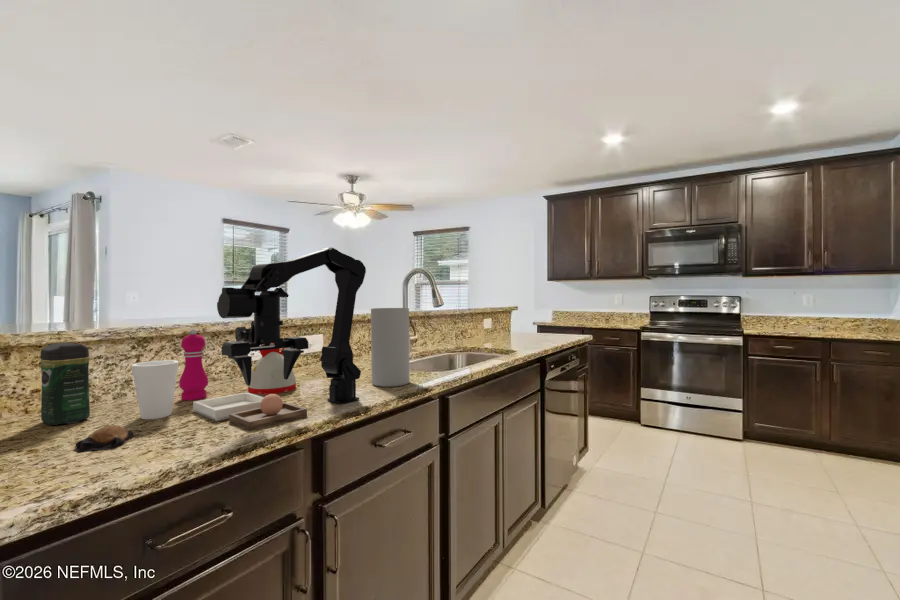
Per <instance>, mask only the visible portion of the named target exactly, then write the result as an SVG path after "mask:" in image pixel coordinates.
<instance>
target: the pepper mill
mask: <svg viewBox="0 0 900 600" xmlns="http://www.w3.org/2000/svg"><path fill="white" fill-rule="evenodd" d="M197 332H198V331H197V329H196V328H195V329H194V328H192V329H190V330H189V334H187V335H186V336H184V337H183V338H182V340H181V344H180V345H181V348H182V349H183V350H184V351H183V357H184V358H185V363H184V364H185V365H184V369H183V371H182V374H181V376H180V379H179V382H178V383H179V385H178V386H179V389H181V390H182V392H181V396H180V397H181V400H182V401H199V400H203V399H205V398H206V397H207V393H208V392H207V390H206V387H207V386H208V385H209V378H208V375H207V373H206V371H205V369H204V366H203V356H204V350H203V349H204V348H205V347H206V339H205V337H203V336H202V335H200V334H197Z"/></svg>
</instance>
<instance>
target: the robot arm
mask: <svg viewBox="0 0 900 600" xmlns="http://www.w3.org/2000/svg"><path fill="white" fill-rule="evenodd" d="M322 266H325V267H327V269H328V271H330V272H331V273H333V274H334V281H335V284H336V287H337V289H338V291H337V292H338V293H337V299H336V305H335V306H336V307H335V313H334V321H333V326H332V332H331V340H330V342H329V344H328V345H327V346H324V345H323V346H322V347H321V355H320V359H319V362H320V365H321V368H322V369H323V371H324V372H325V375H326V378H327V379H330V384H329V387H328V390H329V394H328V396H329V398H327V399H326V401H327V402H331V403H335V404H339V405H341V404H347V403H351V402H355V401H359V400H360V397H357V392H356V391H357V390H356V389H357V385H356V383H357V382H356V380H359V379H360V378H361V373H362V371H361V370H360V369H359V367H358V366H357V365H356V364H355V363H354V352H353V350H352V346H351V344H350V340H351V333H352V326H353V320H354V312H355V304H356V297H357V292H358V291H359V290H360V288H361V286H362V285H363V284H364V280H365V276H366V273H367V271H366V270H367V269H366V266H365V264H364V263H363V262H362V261H361V260H360V259H356V258H354V257H352V256H351V255H347V254H345V253H343V252H341V251H339V250H338V249H337V248H334V247H325V248H324V247H323V248H320V249H319V250H318V251H314V252H311V253H307V254H304V255H301V256H298V257H295V258H291V259H287V260H285V261H279V262H270V263H260V264H257V265H254V266H252V267H251V270H250V272H249V276H248V277H247V279H246V281H244V283H243V284H242V286H241V287H239V288H236V287H233V286H232V287H231V286H230V287H227V286H226V287H222V288H221V293H220V295H219V296H218V301H217V302H216V309H217V312H218V315H219V317H220V318H221V319H239V318H240V319H241V318H250V317H252V316H253V320H251V323H250V328H246V326H238V327H237V326H236V328H235V331H234V332H235V334H234V336H235V341H228V342H227V341H226V342H223V344H222V346H221V355H222V356H227V357H228V359H230V360H233V361H234V362H235V363H236V364H237V366H238V368H239V370H240V372H241V375H242V377H243V380H244V382H245V385H246V386H247V387H248V386H250V383H251V372H252V363H253V358H252V357H253V356H251V355H249V354H250V353H251V352H257V351H258V352H260V350H270V349H280V350H282V348H285V349H284V350H282V353H283V354H282V356H284V372H283V373H284V379H286V380H287V379H288V377H289V375H290V373H291V371H292V370H293V368H294V366H295V364H296V362H297V361H298V359H299V357H300V356H301V354H303V353H305V350H308V349H309V347H310V346H309V344H310V343H309V339H307V337H304V336H287V337H281V326H284V320H281V298H288V297H289V296H290V295H289V294H288V293H287V292H286V291H285V290H284V289H283V288H282V287H280V286H282V285H284V284H286V283H288V282H289V281H290V280H291V279H292V278H293V277H295V276H296V275H299V274H302V273H304V272H307V271H310V270H314V269H316V268H319V267H322ZM272 288H273V289H274V288H275V289H274V290H270V289H272ZM256 293H260V294H256ZM270 343H271V344H270ZM273 343H275V344H273ZM263 344H265V345H263Z"/></svg>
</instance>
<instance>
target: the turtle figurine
mask: <svg viewBox="0 0 900 600" xmlns="http://www.w3.org/2000/svg"><path fill="white" fill-rule="evenodd" d="M134 435H135V432H133V430H128V429H126V428H125V427H122V426H120V425H118V424H117V425H116V424H115V425H114V424H113V425H112V424H111V425H106V426H103V427H100V428H98V429H97V430H94V431H93V432H92V433H91V434H89V435H88V437H86V438H84V439H82V440H79V441H78V442H75V446H74V447H75V448H76V453H78V454H79V453H80V454H81V453H90V452H101V451H109V450H113V449H116V448H121V447H122V446H124V445H125V444H126V443H128V442H129V441H130V439H132V438H133V437H134Z"/></svg>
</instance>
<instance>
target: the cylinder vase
mask: <svg viewBox="0 0 900 600" xmlns="http://www.w3.org/2000/svg"><path fill="white" fill-rule="evenodd" d="M370 343H371V344H370V345H371V347H370V348H371V350H370V351H371V352H370V353H371V356H370V359H371V360H370V361H371V364H370V365H371V366H370V367H371V371H370V372H371V384H372V385H373V386H375V387H381V388H382V387H383V388H393V387H395V388H397V387H402V386H406V385H408V384H409V383H410V308H408V307H378V308H377V307H376V308H375V307H374V308H370Z"/></svg>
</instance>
